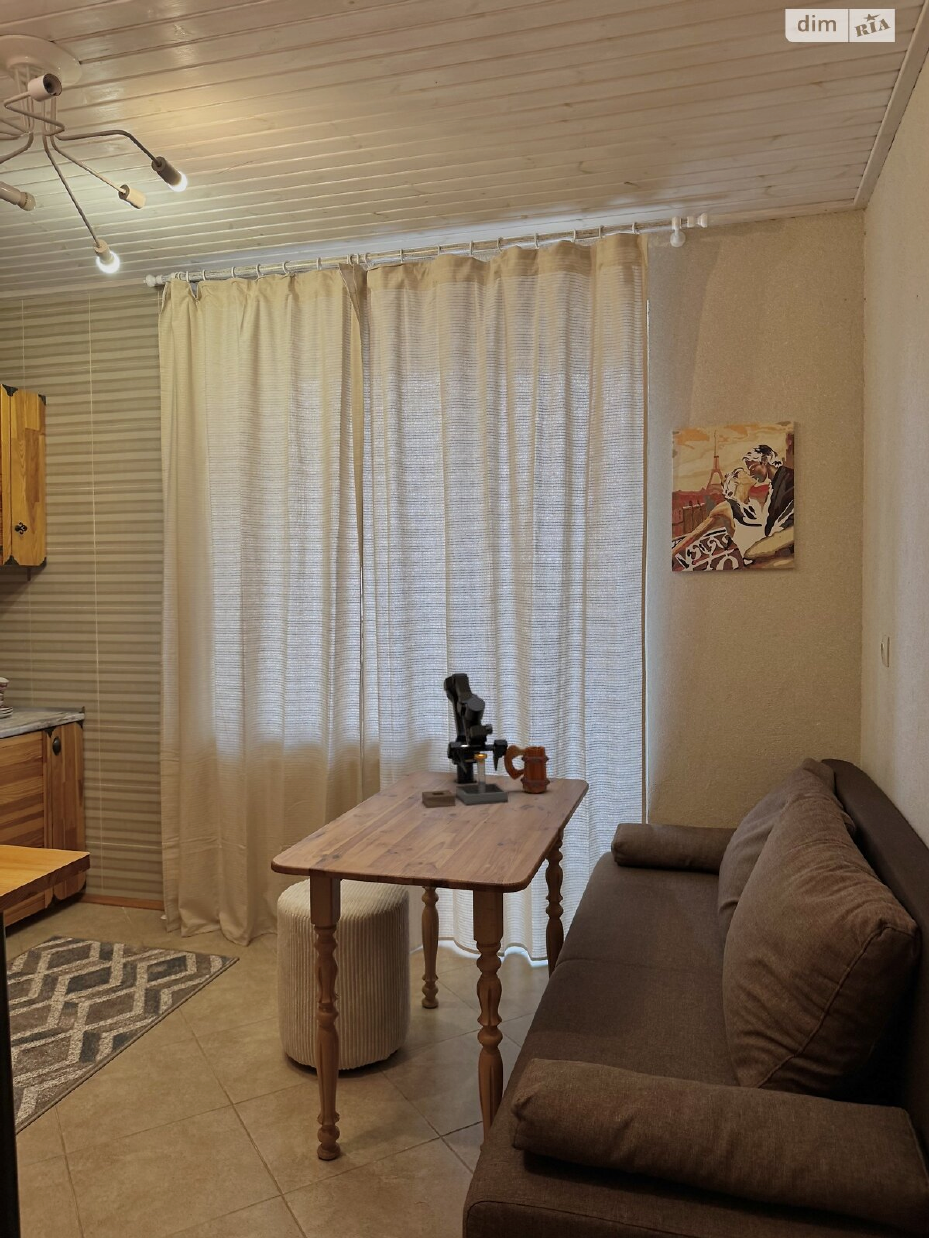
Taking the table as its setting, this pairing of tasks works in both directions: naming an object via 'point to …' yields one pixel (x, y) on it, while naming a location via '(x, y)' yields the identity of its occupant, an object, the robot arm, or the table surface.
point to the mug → (528, 767)
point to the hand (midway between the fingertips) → (481, 771)
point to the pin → (481, 772)
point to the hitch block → (438, 798)
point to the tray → (471, 796)
